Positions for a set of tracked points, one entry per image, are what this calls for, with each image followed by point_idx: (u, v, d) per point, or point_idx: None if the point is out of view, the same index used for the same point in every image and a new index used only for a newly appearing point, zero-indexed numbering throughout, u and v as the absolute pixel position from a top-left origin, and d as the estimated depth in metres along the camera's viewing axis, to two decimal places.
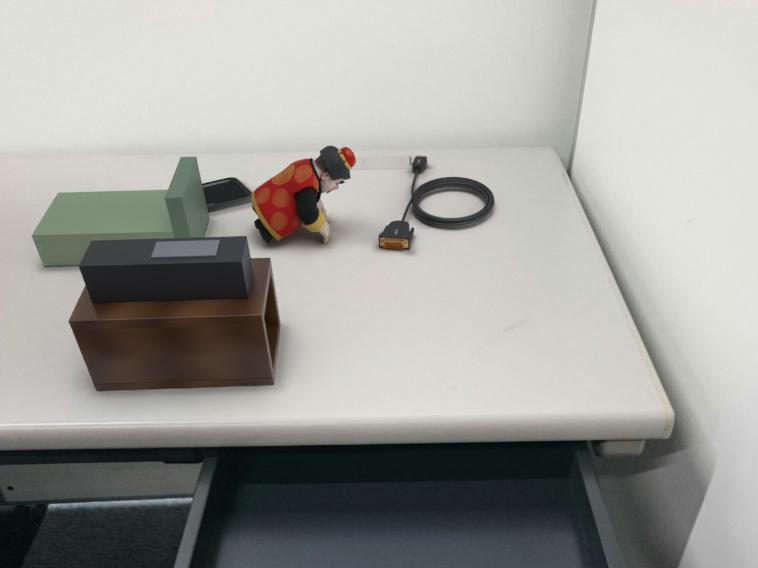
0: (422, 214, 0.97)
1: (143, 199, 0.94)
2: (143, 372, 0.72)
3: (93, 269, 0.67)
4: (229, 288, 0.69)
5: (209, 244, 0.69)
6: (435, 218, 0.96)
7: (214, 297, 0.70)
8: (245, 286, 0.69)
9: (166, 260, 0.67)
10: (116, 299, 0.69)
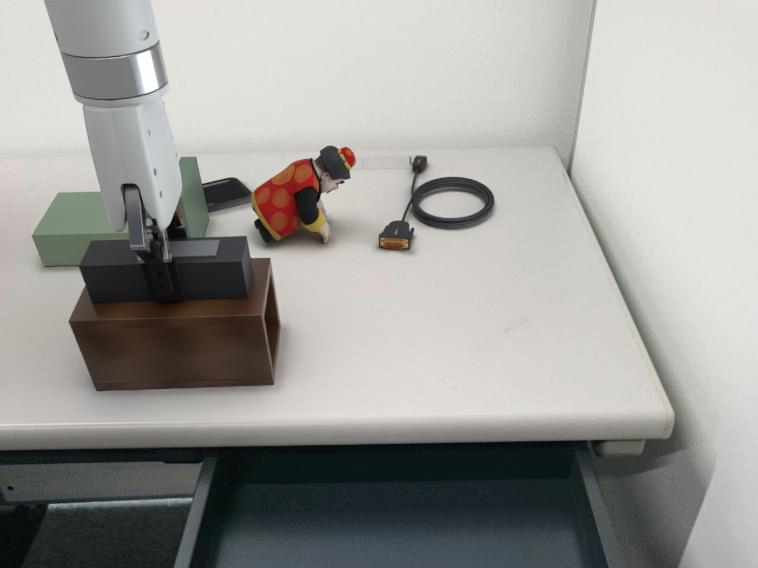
0: (422, 214, 0.97)
1: None
2: (143, 372, 0.72)
3: (93, 269, 0.67)
4: (229, 288, 0.69)
5: (209, 244, 0.69)
6: (435, 218, 0.96)
7: (214, 297, 0.70)
8: (245, 286, 0.69)
9: None
10: (116, 299, 0.69)
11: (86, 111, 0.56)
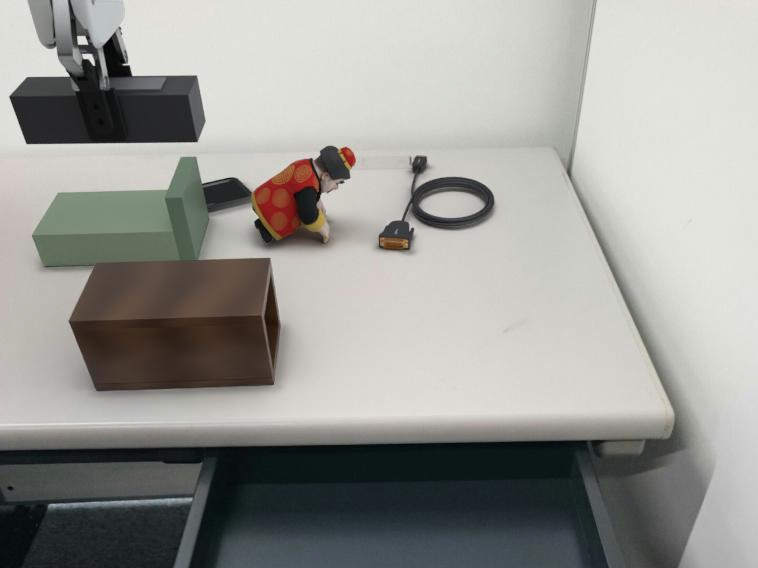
0: (422, 214, 0.97)
1: (143, 199, 0.94)
2: (143, 372, 0.72)
3: (25, 101, 0.61)
4: (176, 129, 0.63)
5: (154, 80, 0.63)
6: (435, 218, 0.96)
7: (160, 140, 0.64)
8: (193, 127, 0.63)
9: None
10: (53, 141, 0.64)
11: None
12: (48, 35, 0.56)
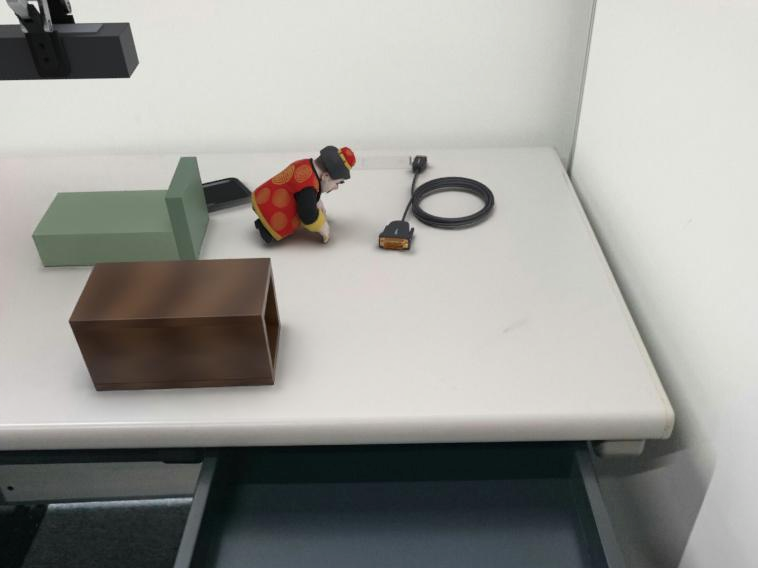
0: (422, 214, 0.97)
1: (143, 199, 0.94)
2: (143, 372, 0.72)
3: None
4: (111, 66, 0.76)
5: (93, 26, 0.76)
6: (435, 218, 0.96)
7: (98, 76, 0.76)
8: (125, 64, 0.76)
9: None
10: (8, 77, 0.76)
11: None
12: None
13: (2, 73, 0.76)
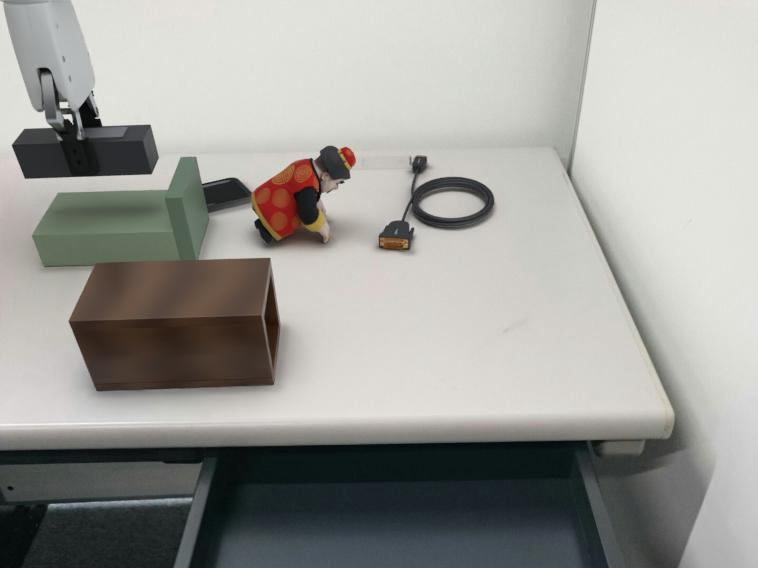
0: (422, 214, 0.97)
1: (143, 199, 0.94)
2: (143, 372, 0.72)
3: (24, 148, 0.83)
4: (135, 165, 0.85)
5: (118, 129, 0.85)
6: (435, 218, 0.96)
7: (124, 173, 0.86)
8: (148, 163, 0.85)
9: None
10: (44, 176, 0.86)
11: (5, 7, 0.72)
12: (39, 103, 0.78)
13: (39, 172, 0.85)
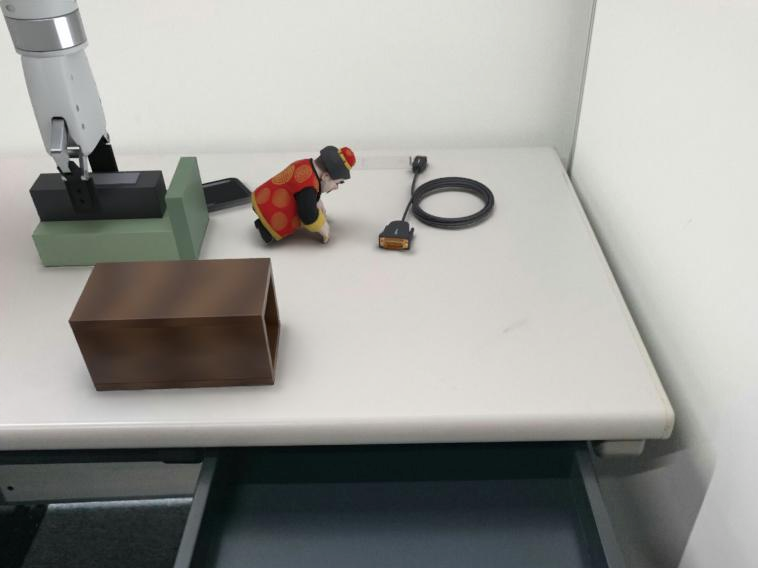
0: (422, 214, 0.97)
1: None
2: (143, 372, 0.72)
3: (40, 193, 0.87)
4: (146, 209, 0.89)
5: (131, 175, 0.89)
6: (435, 218, 0.96)
7: (136, 217, 0.90)
8: (159, 208, 0.89)
9: (97, 186, 0.87)
10: (60, 219, 0.90)
11: (23, 60, 0.76)
12: None
13: (54, 216, 0.89)
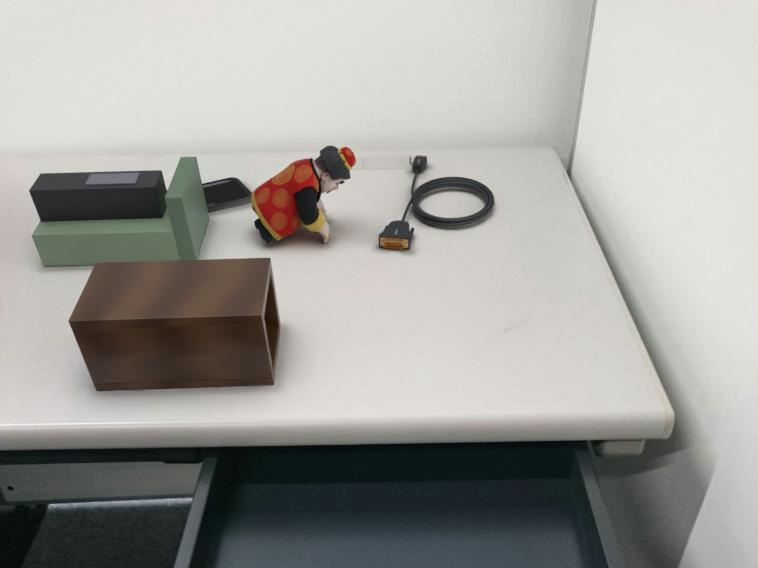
0: (422, 214, 0.97)
1: None
2: (143, 372, 0.72)
3: (40, 193, 0.87)
4: (146, 209, 0.89)
5: (131, 175, 0.89)
6: (435, 218, 0.96)
7: (136, 217, 0.90)
8: (159, 208, 0.89)
9: (97, 186, 0.87)
10: (60, 219, 0.90)
11: None
12: None
13: (54, 216, 0.89)
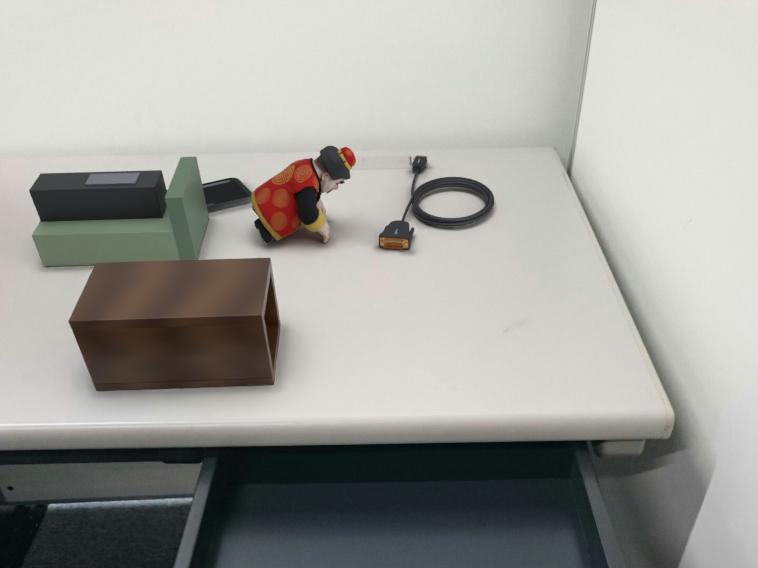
0: (422, 214, 0.97)
1: None
2: (143, 372, 0.72)
3: (40, 193, 0.87)
4: (146, 209, 0.89)
5: (131, 175, 0.89)
6: (435, 218, 0.96)
7: (136, 217, 0.90)
8: (159, 208, 0.89)
9: (97, 186, 0.87)
10: (60, 219, 0.90)
11: None
12: None
13: (54, 216, 0.89)
